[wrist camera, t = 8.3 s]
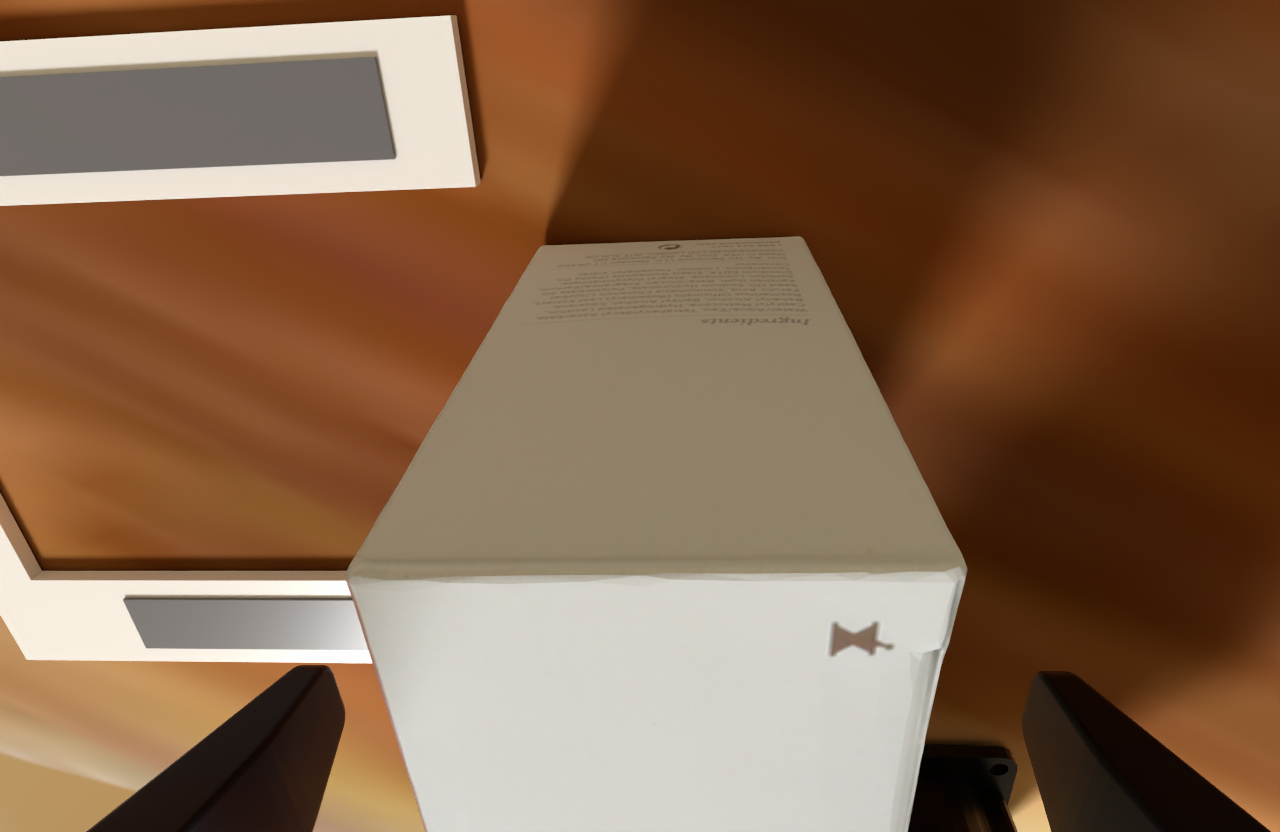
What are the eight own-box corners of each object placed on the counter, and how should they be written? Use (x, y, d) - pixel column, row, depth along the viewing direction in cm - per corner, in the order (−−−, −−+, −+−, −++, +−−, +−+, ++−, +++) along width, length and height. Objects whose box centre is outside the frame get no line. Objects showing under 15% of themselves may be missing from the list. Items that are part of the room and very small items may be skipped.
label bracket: (456, 15, 14) (448, 15, 13) (548, 654, 21) (545, 667, 21) (-302, 59, 15) (-332, 60, 15) (37, 649, 23) (24, 662, 22)
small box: (538, 238, 16) (320, 556, 7) (809, 229, 15) (985, 556, 6) (572, 545, 20) (465, 1024, 10) (791, 544, 19) (885, 1044, 10)
